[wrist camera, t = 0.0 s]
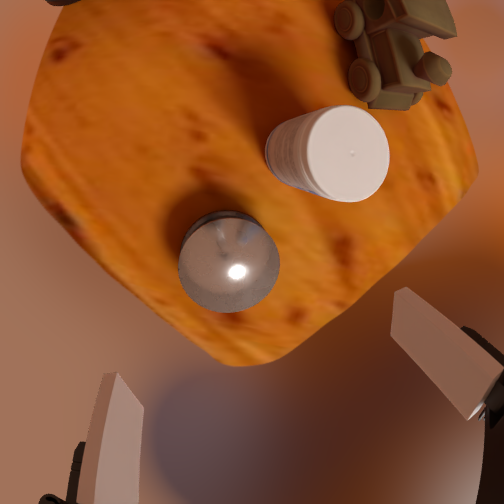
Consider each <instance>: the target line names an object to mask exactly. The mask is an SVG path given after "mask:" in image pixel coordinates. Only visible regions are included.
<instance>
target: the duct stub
mask: <svg viewBox="0 0 504 504" xmlns="http://www.w3.org/2000/svg"><path fill="white" fill-rule="evenodd" d="M279 268H280V260H279V254H278V250H277V247H276V245H275V243H274V241H273V240H272V238H271V237H270V236H269V235H268V233H267V232H266V231H265V230H264V229H263V227H262V226H261V225H260V224H259V223H258V222H257V221H256V220H255V219H253V218H252V217H250V216H248V215H246V214H244V213H241V212H238V211H233V210H221V211H216V212H212V213H209V214H207V215H205V216H203V217H201V218H200V219H198V220H197V221H196V222H195V223H194V224H193V225H192V226H191V227H190V228H189V230H188V231H187V233H186V234H185V236H184V239H183V241H182V245H181V251H180V256H179V263H178V272H179V278H180V281H181V284H182V286H183V288H184V290H185V291H186V293H187V294H188V295H189V297H190V298H191V299H192V300H193V301H195V302H196V303H197V304H199V305H200V306H202V307H204V308H206V309H209V310H212V311H216V312H224V313H230V312H237V311H242V310H245V309H248V308H250V307H252V306H254V305H255V304H257V303H259V302H260V301H261V300H262V299H264V298H265V297H266V296H267V295H268V293H269V292H270V291H271V289H272V288H273V286H274V284H275V282H276V280H277V277H278V274H279Z"/></svg>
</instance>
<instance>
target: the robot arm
mask: <svg viewBox="0 0 504 504" xmlns="http://www.w3.org/2000/svg"><path fill="white" fill-rule="evenodd" d="M45 1H47V2H48V3H49V4H50V5H53V6H64V5H69V4H72V3H75V2H77V1H80V0H45ZM390 335H391V337H392V338H393V339H394V340H395V341H396V342H397V343H398V344H399V345H400V346H401V347H402V348H403V349H404V350H405V351H406V352H407V353H408V355H409V356H410V357H411V358H412V359H413V360H414V361H415V362H416V363H417V364H418V366H419V367H420V368H421V369H422V370H423V371H424V372H425V373H426V374H427V375H428V377H429V378H430V379H431V380H432V381H433V382H434V383H435V384H436V385H437V387H438V388H439V389H440V390H441V391H442V392H443V393H444V395H445V396H446V397H447V398H448V399H449V400H450V401H451V403H452V404H453V405H454V406H455V407H456V408H457V410H458V411H459V412H460V413H461V414H462V415H463V417H464V418H465V419H466V420H468V419H470V418H471V417H472V416H473V415H474V414H475V413H476V412H477V411H478V410H479V409H480V408H481V406H482V405H483V403H485V404H486V407H485V408H484V410H483V411H482V412H481V414H480V415H479V419H478V420H479V421H480V420H481V419H482V417H483V416H484V415H485V417H484V419H483V420H485V438H484V452H483V463H482V471H481V478H480V484H479V490H478V495H477V500H476V504H504V355H503V354H502V353H501V352H500V351H498V350H497V349H496V348H495V347H494V346H493V345H491V344H490V343H488V341H487V340H486V339H484V338H482V336H481V335H480V334H478V333H477V332H476V331H475V330H473V329H470V328H468V327H465V326H463V327H462V328H458V327H457V326H456V325H455V324H454V323H452V322H451V321H450V320H449V319H447V318H446V317H445V316H444V315H442V314H441V313H440V312H439V311H437V310H436V309H435V308H433V307H432V306H431V305H430V304H428V303H427V302H426V301H425V300H423V299H422V298H421V297H419V296H418V295H417V294H415V293H414V292H413V291H411V290H410V289H409V288H407V287H405V288H402V289H400V290H398V291H396V292H395V294H394V306H393V317H392V327H391V334H390ZM143 414H144V407H143V406H142V405H141V403H140V402H139V401H138V400H137V398H136V397H135V396H134V395H133V393H132V392H131V391H130V389H129V388H128V386H127V385H126V384H125V382H124V381H123V380H122V378H121V377H120V375H119V374H118V372H113V373H107V374H104V375H103V378H102V381H101V385H100V388H99V392H98V395H97V399H96V403H95V406H94V411H93V414H92V418H91V422H90V427H89V431H88V435H87V440H86V442H80V443H79V444H78V446H77V448H76V449H75V451H74V457H73V463H72V466H71V470H72V471H71V472H70V477H69V483H68V490H67V497H66V501H64V500H62V499H60V498H58V497H57V496H55V495H53V494H46V495H44V496H42V497H41V499H40V501H39V504H139V466H140V465H139V464H140V449H141V435H142V424H143Z"/></svg>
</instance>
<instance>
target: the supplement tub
mask: <svg viewBox="0 0 504 504" xmlns="http://www.w3.org/2000/svg"><path fill="white" fill-rule="evenodd" d="M265 158H266V162H267V165H268V167H269V169H270V171H271V172H272V174H273V175H274V176H275V177H276V178H277V179H278V180H280V181H281V182H283V183H285V184H287V185H290V186H293V187H296V188H299V189H302V190H305V191H308V192H310V193H313V194H316V195H319V196H322V197H325V198H328V199H332V200H335V201H344V202H356V201H360V200H363V199H365V198H367V197H369V196H370V195H372V194H373V193H374V192H375V191H376V190H377V189H378V188H379V187H380V185H381V184H382V182H383V180H384V179H385V176H386V173H387V170H388V166H389V147H388V142H387V139H386V136H385V133H384V131H383V129H382V128H381V126H380V125H379V123H378V122H377V121H376V120H375V118H373V117H372V116H371V115H370V114H369V113H367V112H366V111H364V110H362V109H360V108H358V107H355V106H350V105H339V106H330V107H326V108H323V109H319V110H316V111H313V112H310V113H307V114H304V115H301V116H299V117H296V118H293V119H290V120H288V121H285V122H283V123H281V124H279V125H278V126H277V127H276V128H275V129H274V130H273V131H272V132H271V133H270V135H269V137H268V139H267V142H266V146H265Z"/></svg>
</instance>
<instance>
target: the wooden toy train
mask: <svg viewBox="0 0 504 504" xmlns="http://www.w3.org/2000/svg"><path fill="white" fill-rule="evenodd" d="M334 23H335V27H336V30H337V31H338V33H339V34H340V36H342V37H343V38H345V39H346V40H354V43H355V47H356V51H357V55H358V59H356V60H355V61H353V62H352V64H351V66H350V68H349V72H348V81H349V85H350V89H351V91H352V93H353V94H354V95H355V96H356V98H358V99H359V100H361V101H363V102H367V104H368V109H388V110H403V111H405V110H409V108H410V106H411V105H414V104H416V103H418V102H419V101H420V100H421V98H422V96H423V92H426V91H431V86H430V82H431V83H433V84H436V85H438V86H443V85H445V84H446V82H447V81H448V79H449V78H450V77H451V74H452V68H451V66H450V64H449V63H448V61H447V60H446V59H444V58H442V57H440V56H438V55H436V54H434V53H432V52H430V51H429V52H426V53H424V51H423V48H422V45H421V43H420V40H419V39H422V38H425V37H429V36H432V35H434V36H437V37H439V38H442V39H448V38H452V37H457V32H456V27H455V23H454V20H453V17H452V15H451V12H450V10H449V7H448V5H447V3H446V0H345V1H343V2H342V3H340V4H339V5H338V7H337V8H336V10H335V14H334Z"/></svg>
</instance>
